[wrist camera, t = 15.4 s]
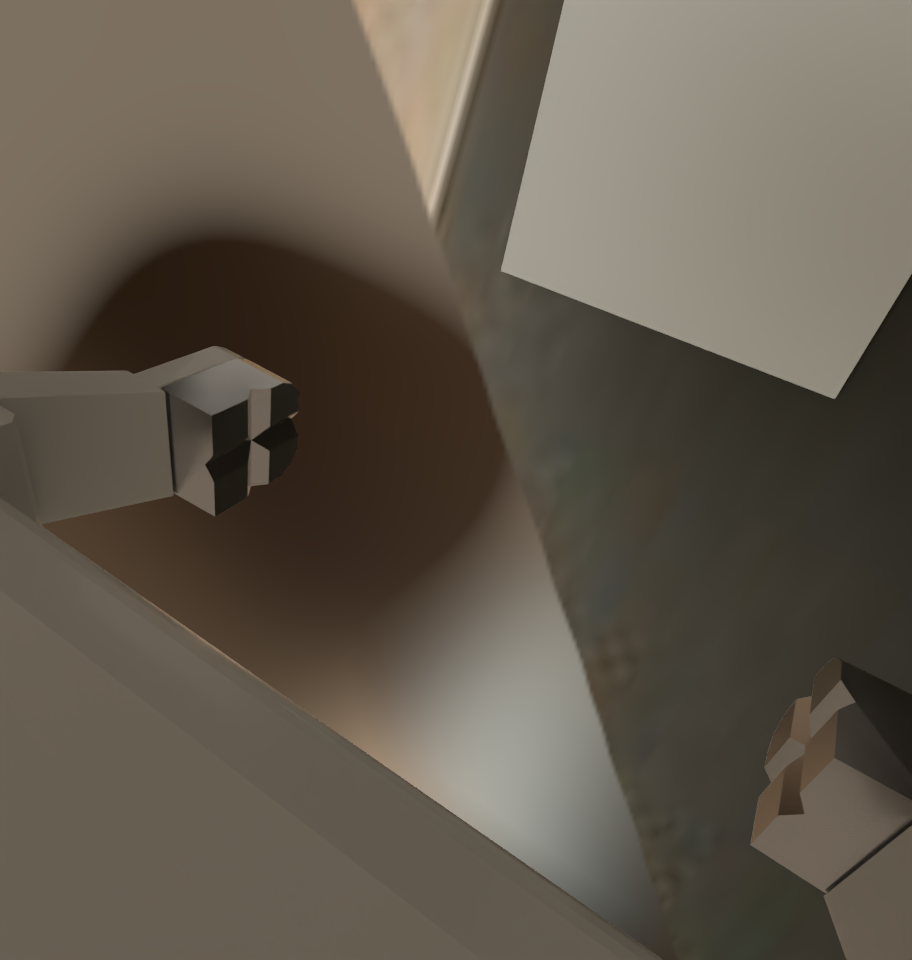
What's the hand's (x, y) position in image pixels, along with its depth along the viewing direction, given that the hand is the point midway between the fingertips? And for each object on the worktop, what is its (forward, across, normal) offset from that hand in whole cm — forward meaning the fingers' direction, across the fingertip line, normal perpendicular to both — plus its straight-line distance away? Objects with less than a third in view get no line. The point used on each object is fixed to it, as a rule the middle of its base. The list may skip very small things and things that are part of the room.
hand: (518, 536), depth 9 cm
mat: (+31, +4, -3) cm, 31 cm away
